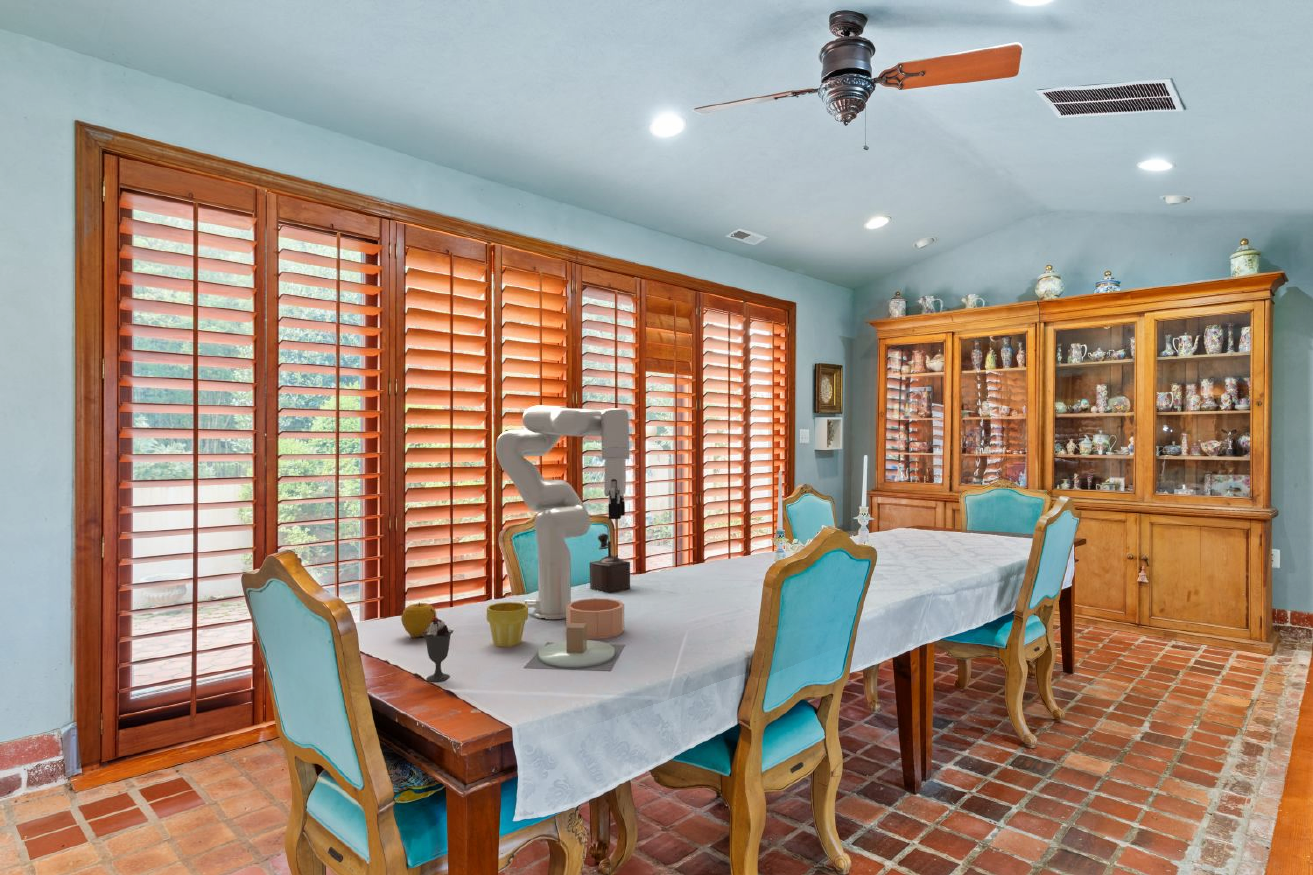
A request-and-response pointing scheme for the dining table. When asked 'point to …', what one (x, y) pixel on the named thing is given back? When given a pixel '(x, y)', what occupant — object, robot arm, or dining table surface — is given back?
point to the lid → (576, 650)
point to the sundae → (437, 646)
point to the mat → (607, 666)
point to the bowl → (597, 616)
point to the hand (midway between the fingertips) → (617, 517)
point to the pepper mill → (609, 571)
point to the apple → (417, 618)
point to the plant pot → (507, 622)
